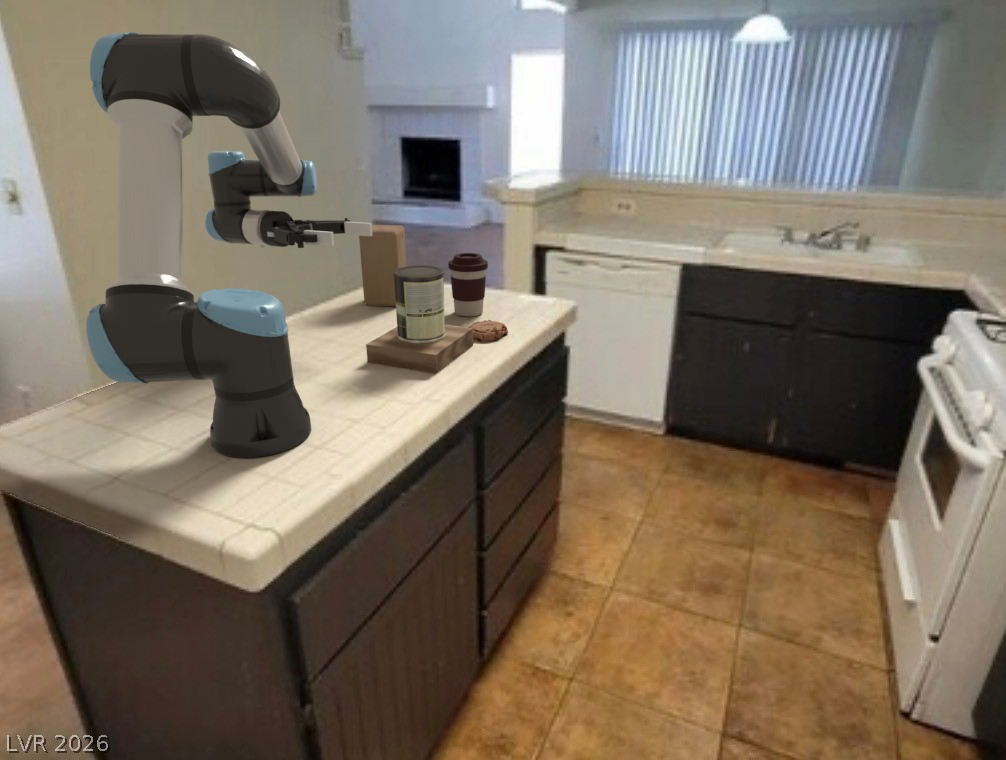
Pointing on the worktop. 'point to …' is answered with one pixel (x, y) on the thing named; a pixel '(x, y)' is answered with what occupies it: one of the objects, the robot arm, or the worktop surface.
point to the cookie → (488, 330)
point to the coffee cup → (468, 283)
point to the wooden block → (381, 263)
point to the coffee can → (419, 303)
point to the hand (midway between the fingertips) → (352, 234)
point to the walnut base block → (420, 350)
